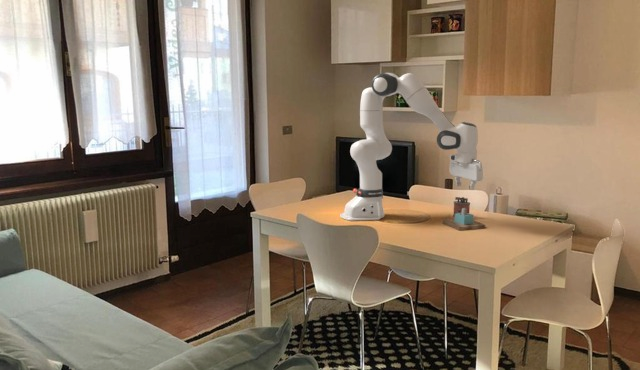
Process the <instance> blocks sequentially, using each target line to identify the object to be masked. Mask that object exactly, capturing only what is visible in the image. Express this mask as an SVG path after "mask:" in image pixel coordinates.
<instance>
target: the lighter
mask: <svg viewBox="0 0 640 370" xmlns="http://www.w3.org/2000/svg"><path fill="white" fill-rule="evenodd" d="M454 200H455V201H453V215H452V216H453V218H455V214H457V213H462V209H463V208H466V209H467V213H469V214H470V205H471V202H468V201H469V198H468V197H464V196H462V197H461V196H455V197H454Z"/></svg>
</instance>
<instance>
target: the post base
mask: <svg viewBox="0 0 640 370" xmlns="http://www.w3.org/2000/svg"><path fill="white" fill-rule="evenodd" d="M462 215H464V216H465V215H467V209H466V208H463V209H462ZM454 221H455V218H454V219H453V218H452V219H444V220H442V224H443V225H444V226H445V225H446V226H447V227H450V228H452V229H454V230H457V231H468V230H477V229H478V230H479V229H485V228H486V224H485V223H481V222H479V221H477V220H475V219H473V223H471V224H465V225H463V224H459V223H456V222H454Z"/></svg>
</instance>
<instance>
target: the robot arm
mask: <svg viewBox="0 0 640 370" xmlns="http://www.w3.org/2000/svg"><path fill="white" fill-rule="evenodd" d="M398 94H399V95H400V96H402V98H403V99H404V102H406V104H407V105H408V106H409V107H410V109H412V110H413V111H414V112H415V113H417V114H420V115H423V116H425V117H427V118H428V119H429V120H431V121H432V122H433V124H434V125H435V126H436V128H437V129H438V130H439V133H438V134H437V137H436V144H437V145H438V147H439V148H440V149H442V150H444V151H450V150H451V151H452V150H456V153H454V154H452V155H451V154H450V156H449V160H450V162H449V167H448V168H449V169H448V170H449V171H448V172H449V174H450V175H451V176H453V177H454V180H455V186H457V187H461V186H462V181H461V178H462V179H465V180H469V181H470V182H471V183H470V185H469V186H468V189H469V190H471V191H473V190H475V186H476V184H477V182H481V181H482V180H483V178H484V171H483V165H482V162H481V161H480V160H477V157H478V149H477V145H478V140H479V139H478V138H479V136H478V135H479V134H478V133H479V132H478V127H477V126H476V124H474V123H471V122H466V121H463V122H460V123H459V124H456V125H454V124H453V123H452V122H451V121H450V120H449V119H448V117H447V116H446V114H445V113H444V112H443V111H442V110H441V109H440V107H439V106H438V104H437V103H436V101H435V99H434V98H433V96H432V94H431V93H430V91H429V90H428V89H427V87H426V86H425V85H424V83H423V82H422V81H421V80H420V79H419V78H418V77H417V76H416V75H415V74H414V73H411V72H408V73H404V74H402V75H401V76H400V75H398V74H397V73H393V72H384V73H383V72H382V73H379V74H377V75H375V76H374V77H373V78H372V79H371V87H367V88H364V89H363V90H362V93H361V96H360V102H359V103H360V104H359V105H360V106H359V107H360V108H359V117H360V118H359V126H360V128H361V129H362V130H363V132H365V133H364V134H365V136H366V139H360V140H358V141H355V142H354V143H352V144H351V146H350V150H349V153H350V156H351V158H352V160H354V161H355V163H356V165H357V167H358V172H359V188H358V189H357V188H353V189H352V192H353V193H355V194H356V195H355V196H354V197H352V199H351V200H349V201H348V202H347V203H345V206H344V211H343V212H341V213H340V214H339V216H340V218H342V219H344V220H346V221H378V220H381V219H382V218H385V211H384V205H383V199H384V197H383V196H384V191H383V190H384V188H383V172H382V171H381V170H380V169H379V167H378V165H377V161H379V160H381V161H382V160H383V159H386V158H387V157H389V156H390V155H391V154H392V151H393V145H392V143H391V142H390V141H389V139H388V138H387V136H386V133H385V129H384V120H383V119H384V117H383V116H384V114H383V107H384V105H383V103H384V101H385V98H390V97H393V96H396V95H398Z"/></svg>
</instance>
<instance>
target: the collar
mask: <svg viewBox="0 0 640 370" xmlns="http://www.w3.org/2000/svg"><path fill="white" fill-rule="evenodd" d="M454 219H455V221H454V222H456V223H459V224H463V225H465V224H471V223H473V220H474V214H472V213H470V212H469V213H467V215H465V216H464V215H462V213H457V214H455V217H454Z"/></svg>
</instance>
